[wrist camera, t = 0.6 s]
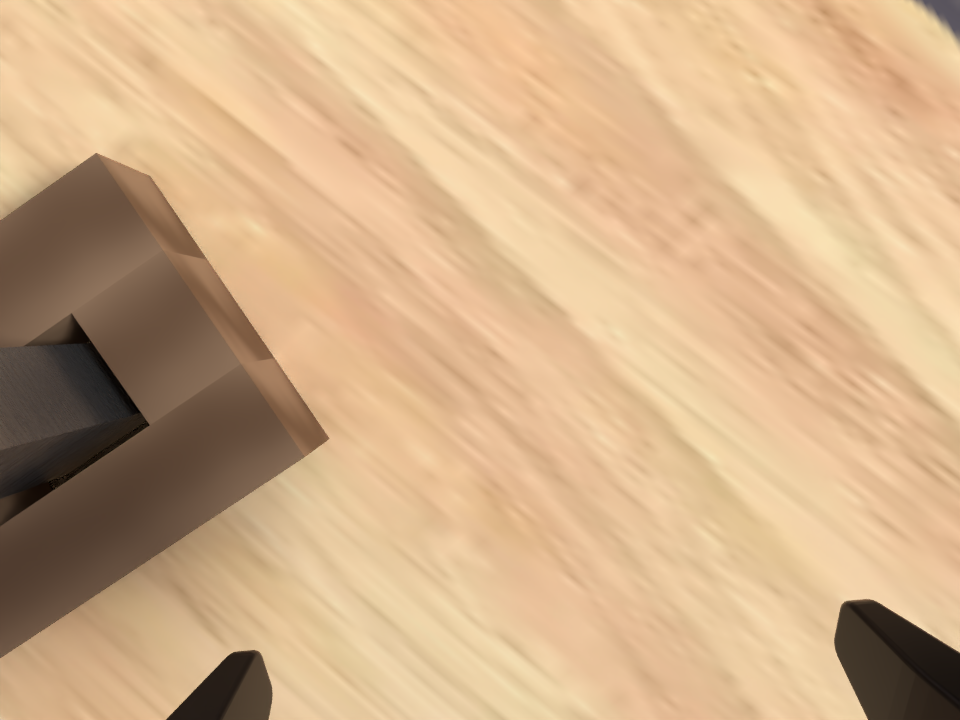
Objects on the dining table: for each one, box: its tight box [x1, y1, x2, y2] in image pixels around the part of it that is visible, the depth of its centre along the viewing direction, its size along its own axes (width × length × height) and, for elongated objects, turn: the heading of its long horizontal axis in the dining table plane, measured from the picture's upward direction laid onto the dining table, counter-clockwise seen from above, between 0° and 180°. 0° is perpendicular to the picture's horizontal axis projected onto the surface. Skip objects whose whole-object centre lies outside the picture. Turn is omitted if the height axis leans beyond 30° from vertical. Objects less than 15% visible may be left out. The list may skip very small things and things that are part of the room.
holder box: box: [0, 153, 329, 658], centre depth 21 cm, size 12×14×3 cm
